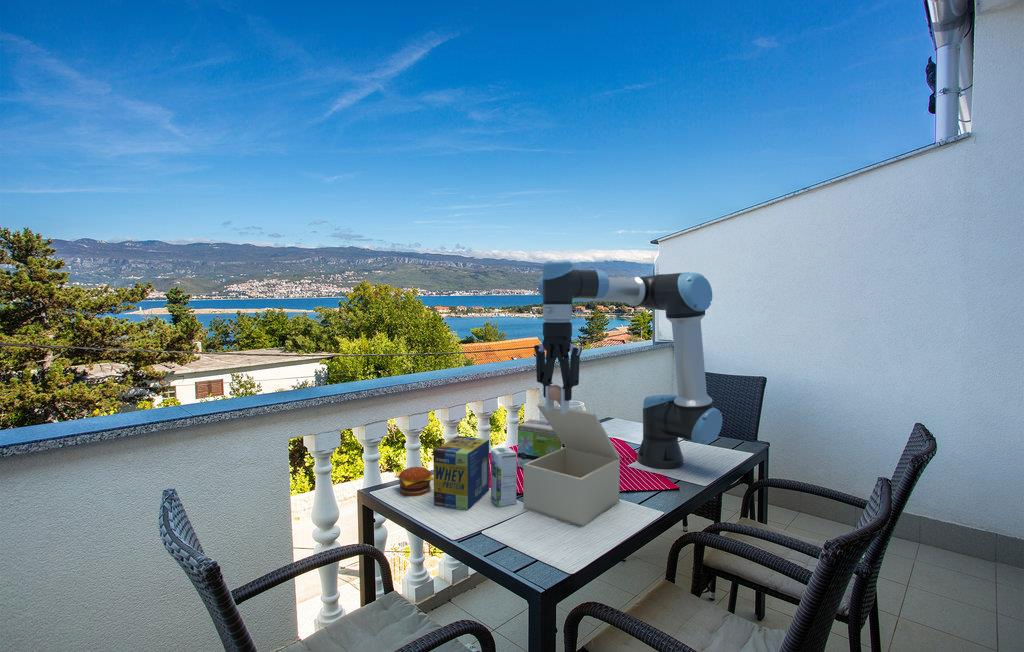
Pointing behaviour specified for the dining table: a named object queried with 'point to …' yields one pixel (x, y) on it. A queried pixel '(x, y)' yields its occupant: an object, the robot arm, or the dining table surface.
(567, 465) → the carton
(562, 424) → the lid
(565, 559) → the dining table surface
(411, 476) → the hamburger
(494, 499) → the syrup box
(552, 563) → the dining table surface
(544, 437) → the tea box
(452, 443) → the protein box
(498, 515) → the dining table surface
